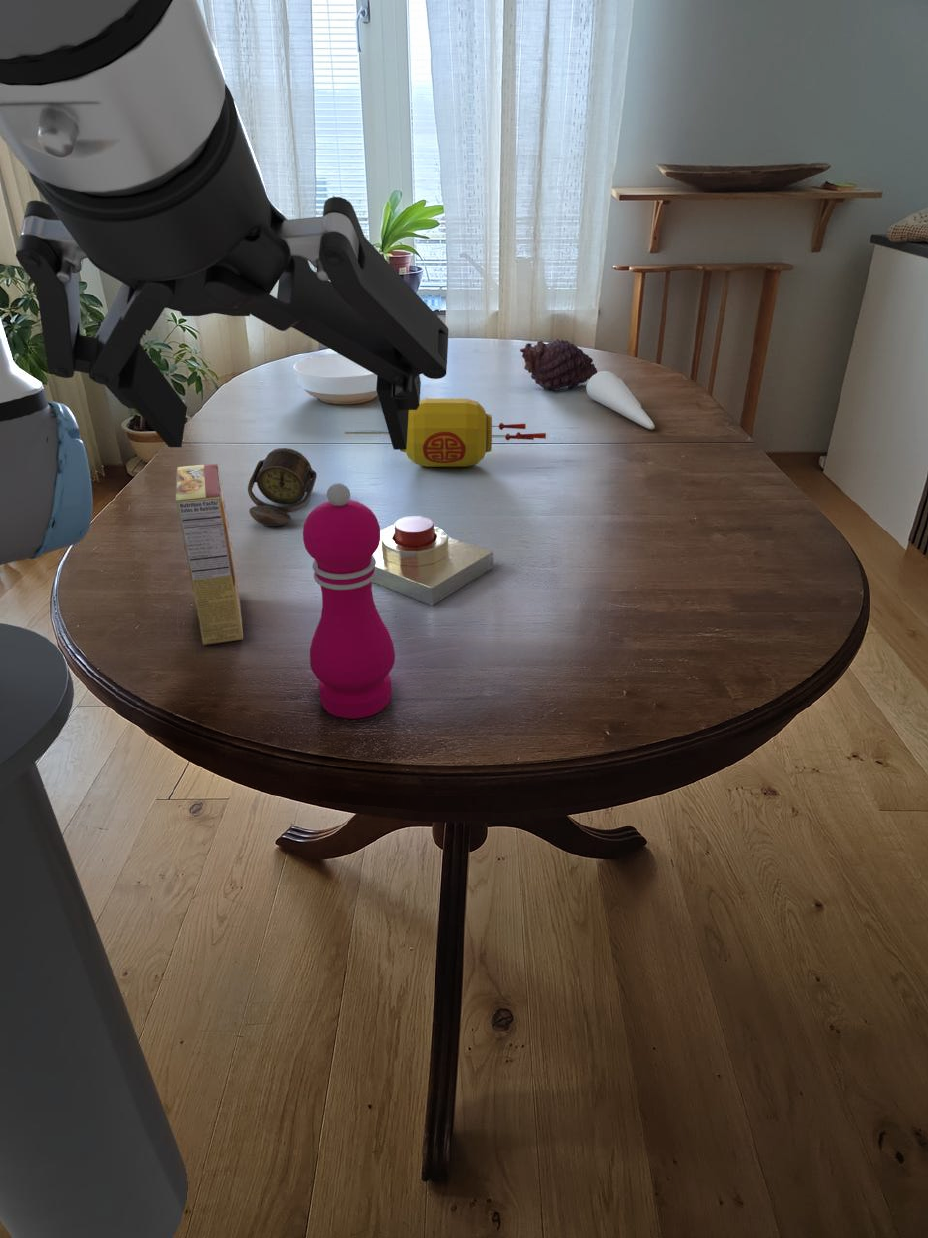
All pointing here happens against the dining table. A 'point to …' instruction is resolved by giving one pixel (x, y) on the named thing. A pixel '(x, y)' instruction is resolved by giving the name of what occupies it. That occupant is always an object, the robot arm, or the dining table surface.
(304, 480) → the brass desk clock
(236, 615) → the candy box
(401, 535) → the button
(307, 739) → the dining table surface
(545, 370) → the pine cone
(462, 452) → the lantern
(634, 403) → the long cone
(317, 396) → the bowl
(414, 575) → the control block
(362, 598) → the pepper mill
